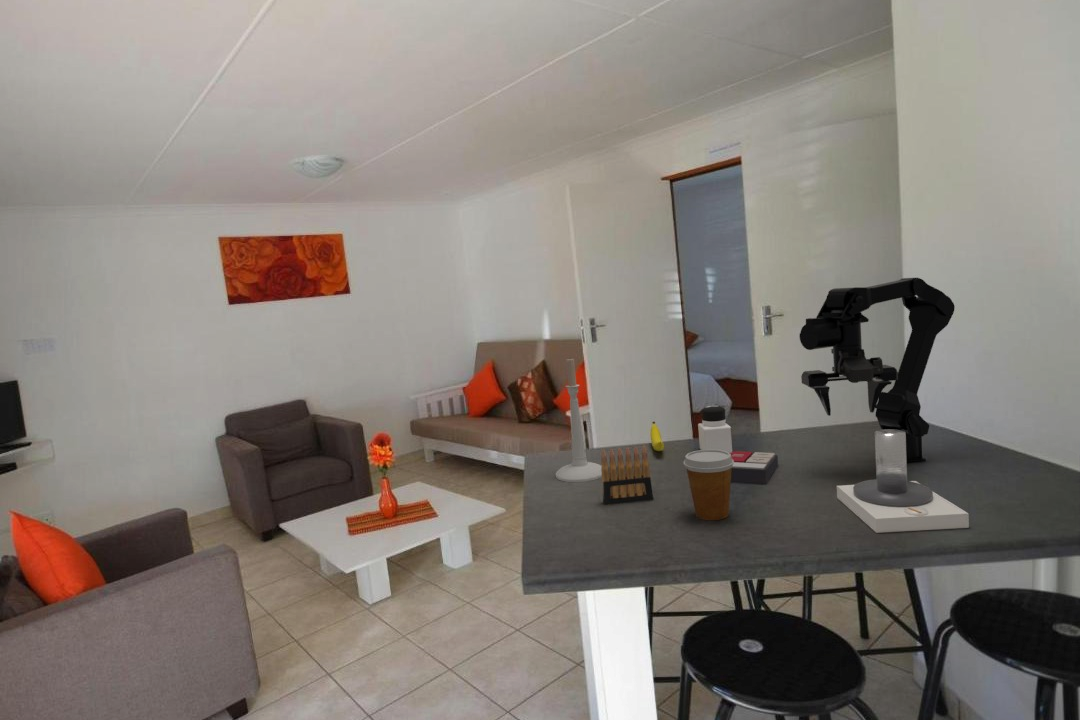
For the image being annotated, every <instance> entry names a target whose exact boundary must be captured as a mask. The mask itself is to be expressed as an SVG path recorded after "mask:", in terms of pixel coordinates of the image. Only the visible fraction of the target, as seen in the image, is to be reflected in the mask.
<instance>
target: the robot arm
mask: <svg viewBox="0 0 1080 720" xmlns="http://www.w3.org/2000/svg"><path fill="white" fill-rule="evenodd" d="M897 299H901V301H902V304H903V306H904V307H905V308H906V309H907V310H908V312H909V314H908V321H909V324H910V328H911V332H910V335H909V338H908V341H907V345H906V347H905V351H904V352H903V353H904V354H903V357H902V359H901V362H900V364H899V365H900V366H899V368H898V369H897V368H896V367H895V366H891V365H887V364H883V359H882V358H881V357H880V356H879V357H870V358H867V357H866V353H865V349H864V348H862V345H863V344H862V328H861V327H862V326H861V325H862V324H864V323H868V322H869V321H870V320H869V318H867V316H865V315H864V314H863V313H862V312H864V311H866V310H868V309H869V310H870V308H871V307H872V306H873V305H875V304H879V303H885V302H888V301H892V300H897ZM954 312H955V304H954V301H952V298H951V297H950V296H949V295H947V294H945V293H944V291H942V290H939V289H937V288H935V287H934V286H932V285H930V284H928V283H927V282H926V281H925V280H924V279H922V278H920V277H903V278H900V279H898V280H894V281H889V282H885V283H881V284H880V283H879V284H875V285H872V286H866V287H865V286H864V287H837V288H832V289H830V290H828V293H827V295H826V298H825V301H824V302H823V304H822V305H821V308H820V310H819V311H818V314H817V316H816V317H814V318H812V317H810V318H806V319H805V324H804V325H803V326H802V327H801V329H800V333H799V341H800V344H801V346H802V347H803V348H804V349H806V350H808V351H813V350H817V349H818V350H819V349H826V348H831V349H830V351H831V354H832V355H833V366H832V368H831V370H832V372H826V371H824V370H823V371H822V370H820V369H816V370H805V371H803V372H802V374H801V375H800V376H801V384H803V385H805V386H807V387H808V388H810V389H812V390H814V392H815V394H816V395H817V396H818V398H819V400H820V403H821V405H822V407H823V409H824V411H825V413H826V415H827V416H831V409H832V407H831V402H830V396H829V393H830V387H831V386H828V385H827V384H828V382H837V381H839V382H841V381H848V382H850V383H852V384H856V383H857V384H858V383H861V382H867V383H866V384H867V396H868V397H867V398H868V399H867V400H868V402H867V403H868V408H869V409H868V410H869V412H870V413H871V414H872V413H874V412H875V418H876V419H877V422H878V424H879V427H880V430H883V429H894V430H901V431H904V432H905V433H906V460H907V463H911V462H925V461H927V458H926V457H924V456H923V437H924V436H926V435H928V434H929V428H930V424H929V423H928V422H927V421H926V420H925V419H924V418H923V417H922V416H921V415H920V412H921V407H922V406H921V403H920V399H919V396H918V392H919V389H920V387H921V383H922V379H923V376H924V374H925V371H926V367H927V365H928V362H929V359H930V355H931V352H932V350H933V349H932V348H933V347H934V343H935V340H936V337H937V335H938V334H939V333H941V331H943V330H944V329H945V328H946V327H947V326H948V324H949V323H950V321H951V319H952V317H953V314H954ZM892 381H894V384H893V386H892V388H891V389H890V390H889V391H888V392H886V391H883V390H884V389H885V388H886V387H887V386H889V385H892V383H893V382H892Z"/></svg>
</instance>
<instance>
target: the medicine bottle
mask: <svg viewBox="0 0 1080 720" xmlns="http://www.w3.org/2000/svg"><path fill="white" fill-rule="evenodd" d="M726 420H727V419H726V409H725V408H724V407H723V406H720V405H708V406H705V407H703V408H702V409H701V421H702V422H701V423H698V424H697V427H698V441H699V449H700V450H721V451H726V452H728V453H732V452H733V451H734V450H733V436H732V435H733V434H732V427H731V426H730V425H729V424H728V423H726V422H727V421H726Z"/></svg>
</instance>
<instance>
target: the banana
mask: <svg viewBox="0 0 1080 720" xmlns="http://www.w3.org/2000/svg"><path fill="white" fill-rule="evenodd" d="M651 423H652V426H651V428H650V440H651V445H652V448H653V450H654V451H656V452H661V451H663V450H664V448H665V444H664V442H663V441H662V435H661V431H660V429H659V427H658V426H657V425H656V421H652V422H651Z"/></svg>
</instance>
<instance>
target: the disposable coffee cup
mask: <svg viewBox="0 0 1080 720" xmlns="http://www.w3.org/2000/svg"><path fill="white" fill-rule="evenodd" d="M684 457H685V459H684V460H683V465H684V467H685V469H686V473H687V477H688V483H689V488H690V492H691V497H692V502H693V508H694V511H695V517H697V518H699V519H700V520H705V521H719V520H723V519H726V518H728V517H729V515H730V514H729V513H730V497H731V483H732V482H731V469H732V466H733V463H734V460H733V459H732V457H731V454H730V453H728V452H726V451H721V450H701V449H700V450H694V451H690V452H688V453H687V454H686V455H685V456H684Z"/></svg>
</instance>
